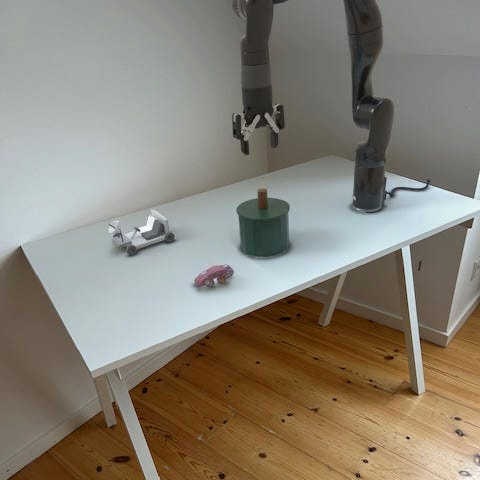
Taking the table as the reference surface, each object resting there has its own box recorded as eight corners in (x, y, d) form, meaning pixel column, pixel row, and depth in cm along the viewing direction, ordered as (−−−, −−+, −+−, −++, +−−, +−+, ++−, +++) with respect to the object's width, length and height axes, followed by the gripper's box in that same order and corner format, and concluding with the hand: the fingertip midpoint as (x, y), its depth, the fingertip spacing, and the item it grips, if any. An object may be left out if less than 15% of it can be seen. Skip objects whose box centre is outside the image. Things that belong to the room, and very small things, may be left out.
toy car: (112, 228, 134) (97, 215, 142) (119, 259, 140) (105, 245, 148) (170, 210, 142) (153, 198, 150) (175, 240, 147) (158, 228, 155)
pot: (272, 232, 147) (270, 196, 140) (297, 249, 137) (297, 211, 130) (232, 244, 142) (229, 207, 136) (256, 263, 132) (254, 224, 126)
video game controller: (199, 296, 124) (201, 280, 118) (192, 282, 125) (194, 266, 119) (234, 284, 127) (237, 269, 121) (226, 271, 129) (229, 255, 123)
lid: (271, 197, 141) (270, 176, 138) (300, 213, 131) (300, 191, 127) (227, 209, 136) (225, 188, 132) (253, 227, 125) (252, 205, 122)
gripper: (238, 90, 113) (244, 160, 122) (289, 80, 118) (290, 148, 127) (223, 86, 118) (229, 153, 128) (272, 76, 123) (275, 142, 133)
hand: (260, 150), depth 128 cm, fingers open, 8 cm apart
